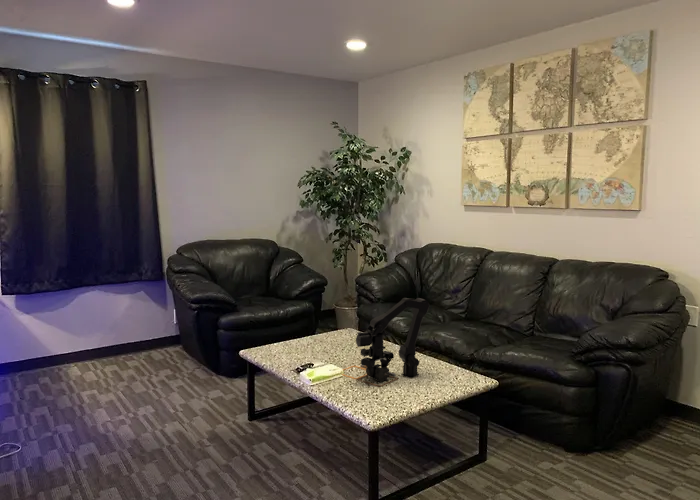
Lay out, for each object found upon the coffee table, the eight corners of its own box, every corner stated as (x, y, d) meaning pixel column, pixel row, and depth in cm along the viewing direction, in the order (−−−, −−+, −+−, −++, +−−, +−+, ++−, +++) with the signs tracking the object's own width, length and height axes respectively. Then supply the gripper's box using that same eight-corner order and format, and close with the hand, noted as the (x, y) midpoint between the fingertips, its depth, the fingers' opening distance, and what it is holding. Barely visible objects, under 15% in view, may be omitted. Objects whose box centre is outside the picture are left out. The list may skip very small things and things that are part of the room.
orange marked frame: (375, 372, 266) (375, 371, 266) (356, 379, 256) (356, 378, 256) (354, 366, 276) (354, 365, 276) (334, 373, 266) (334, 372, 265)
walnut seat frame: (398, 379, 256) (398, 378, 256) (379, 387, 246) (379, 386, 245) (375, 372, 266) (375, 371, 266) (356, 380, 255) (356, 379, 255)
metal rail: (395, 376, 261) (395, 373, 260) (393, 376, 259) (393, 374, 259) (362, 366, 275) (362, 364, 275) (360, 367, 274) (360, 364, 274)
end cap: (365, 378, 258) (365, 365, 257) (377, 375, 262) (376, 362, 261) (378, 384, 250) (378, 370, 249) (389, 381, 254) (389, 367, 253)
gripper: (377, 337, 266) (377, 367, 268) (352, 345, 253) (352, 376, 254) (394, 341, 259) (394, 372, 260) (369, 349, 245) (370, 382, 247)
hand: (377, 375), depth 256 cm, fingers closed on end cap, 8 cm apart
